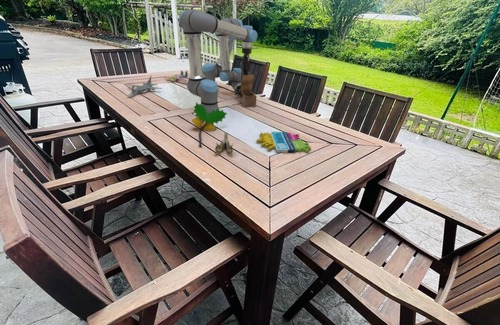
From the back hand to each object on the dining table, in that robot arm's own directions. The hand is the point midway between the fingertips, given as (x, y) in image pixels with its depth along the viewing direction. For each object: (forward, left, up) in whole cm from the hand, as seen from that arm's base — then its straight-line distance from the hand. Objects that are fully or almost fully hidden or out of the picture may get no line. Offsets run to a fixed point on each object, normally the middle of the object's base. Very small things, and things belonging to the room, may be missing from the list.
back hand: (247, 95), depth 214 cm
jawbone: (+57, -69, -7) cm, 90 cm away
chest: (+2, -1, -7) cm, 7 cm away
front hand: (-7, +3, +12) cm, 14 cm away
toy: (-103, -4, -7) cm, 104 cm away
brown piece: (-1, +1, +9) cm, 10 cm away
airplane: (-73, -56, -7) cm, 92 cm away
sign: (+69, -36, -7) cm, 78 cm away
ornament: (+27, -57, -7) cm, 64 cm away
